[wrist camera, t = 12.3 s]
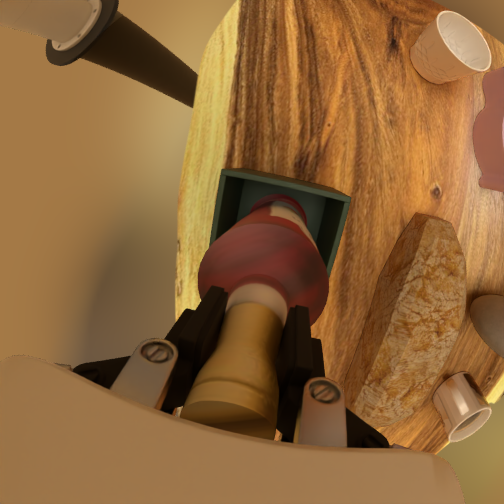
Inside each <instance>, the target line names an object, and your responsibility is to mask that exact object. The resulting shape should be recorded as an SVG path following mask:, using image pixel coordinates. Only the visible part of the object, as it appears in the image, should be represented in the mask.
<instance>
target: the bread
mask: <svg viewBox="0 0 504 504" xmlns="http://www.w3.org/2000/svg"><path fill="white" fill-rule="evenodd" d="M465 308H466V261H465V258H464V255H463V252H462V249H461V247H460V244H459V241H458V239H457V236H456V234H455V231H454V229H453V226H452V224H451V223H450V222H448V221H445V220H443V219H441V218H438V217H434V216H429V215H425V214H420V213H416V214H415V215H414V217H413V218H412V220H411V221H410V223H409V224H408V226H407V227H406V229H405V230H404V232H403V233H402V235H401V236H400V238H399V239H398V241H397V243H396V245H395V247H394V249H393V251H392V253H391V255H390V257H389V259H388V260H387V262H386V264H385V266H384V268H383V270H382V272H381V274H380V275H379V279H378V283H377V287H376V290H375V294H374V297H373V301H372V304H371V308H370V311H369V314H368V317H367V321H366V324H365V327H364V330H363V333H362V336H361V339H360V342H359V344H358V347H357V350H356V353H355V355H354V358H353V361H352V363H351V366H350V369H349V371H348V374H347V376H346V379H345V385H344V395H345V407H347V408H348V409H349V410H350V411H352V412H353V413H354V414H356V415H357V416H358V417H359V418H361V419H362V420H363V421H365V422H366V423H367V424H369V425H370V426H371V427H384V426H388V425H391V424H393V423H395V422H397V421H399V420H401V419H403V418H405V417H407V416H409V415H411V414H413V413H414V412H415V410H416V409H417V407H418V406H419V404H420V403H421V401H422V400H423V398H424V397H425V395H426V394H427V392H428V390H429V389H430V387H431V385H432V384H433V382H434V380H435V379H436V377H437V375H438V373H439V372H440V370H441V368H442V366H443V364H444V362H445V361H446V359H447V357H448V355H449V353H450V351H451V349H452V347H453V345H454V343H455V341H456V338H457V336H458V334H459V331H460V328H461V325H462V322H463V318H464V313H465Z"/></svg>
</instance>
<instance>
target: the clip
mask: <svg viewBox="0 0 504 504" xmlns="http://www.w3.org/2000/svg"><path fill="white" fill-rule="evenodd" d="M483 91H484V95H485V99H486V104H485V107H484V109H483V110H482V111H481V112H480V113H479V114H478V116H477V118H476V120H475V123H474V129H473V144H474V151H475V155H476V159H477V162H478V164H479V167H480V169H481V171H482V177H481V178H480V179H479V185H480V187H482V188H487V189H491V190H496V191H500V192H504V67H502V68H499V69H496V70H493V71H491V72H488V73H486V74H485V75H484V78H483Z"/></svg>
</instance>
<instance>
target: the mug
mask: <svg viewBox="0 0 504 504" xmlns="http://www.w3.org/2000/svg"><path fill="white" fill-rule="evenodd" d="M433 403H434V406H435V408H436V410H437V413H438V415H439V417H440V420H441V422H442V425H443V427H444V430H445V432H446V435H447V438H448V440H449V441H450V442H457V441H460V440H462V439H465V438H466V437H468V436H470V435H471V434H473V433H474V432H476V431H477V430H478V429H479V428H480V427H481V426H482V425H483V424H484V423H485V422H486V421H487V420H488V418H489V416H490V415H491V412H492V410H491V407H490V406H489V404H488V402H487V400H486V399H485V397H484V395H483V393H482V392H481V390H480V388H479V387H478V385H477V384H476V382H475V380H474V379H473V377H472V376H471V374H470V373H468V372H460V373H457V374H455V375H453V376H451V377H450V378H448V379H447V380H446V381H444V382H443V383H442V384H441V385H440V386H439V388H438V389H437V390H436V392H435V393H434V396H433Z"/></svg>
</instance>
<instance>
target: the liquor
mask: <svg viewBox="0 0 504 504" xmlns="http://www.w3.org/2000/svg"><path fill="white" fill-rule="evenodd" d="M212 285H214V286H218V287H222V288H224V292H228V299H227V305H226V311H225V315H224V318H223V322H222V326H221V329H220V333H219V337H218V341H217V345H216V349H215V351H214V352H213V353H212V355H211V356H210V357H209V359H208V360H207V361H206V363H205V364H204V366H203V367H202V368H201V370H200V371H199V373H198V374H197V377H196V379H195V381H194V383H193V386H192V388H191V390H190V392H189V395H188V397H187V399H186V401H185V404H184V406H183V408H182V410H181V413H180V418H182V419H186V420H189V421H192V422H195V423H199V424H202V425H206V426H209V427H213V428H217V429H221V430H225V431H229V432H233V433H237V434H242V435H247V436H252V437H257V438H262V439H268V440H274V438H275V433H276V423H277V413H278V403H279V386H278V380H277V374H276V369H275V361H276V358H277V354H278V350H279V346H280V342H281V338H282V333H283V329H284V326H285V322H286V319H287V316H288V312H289V309H290V307H294V308H295V305H300V306H305V307H308V308H309V317H310V326H312V325H313V324H314V323H315V322H316V320H317V319H318V318H319V316H320V315H321V313H322V311H323V309H324V307H325V305H326V302H327V297H328V293H329V279H328V274H327V270H326V266H325V264H324V262H323V260H322V258H321V256H320V254H319V251H318V249H317V247H316V244H315V242H314V240H313V238H312V236H311V234H310V232H309V231H308V229H307V218H306V214H305V212H304V210H303V208H302V206H301V205H300V204H299V203H298V202H297V201H296V200H295V199H293V198H291V197H289V196H287V195H283V194H271V195H267V196H265V197H263V198H261V199H260V200H258V201H257V202H256V203H255V204H254V206H253V207H252V209H251V210H250V213H249V215H247V216H246V217H244V218H243V219H241V220H240V221H239V222H238V223H236V224H235V225H234V226H233V227H232V228H230V229H229V230H228V231H227V232H226V233H224V234H223V235H222V236H221V237H219V238H218V239H217V240H216V241H215V242H213V244H212V245H211V246H210V247H209V249H208V250H207V251H206V253H205V255H204V257H203V259H202V261H201V263H200V268H199V272H198V289H199V294H200V298H201V301H202V299H203V298H204V296H205V295H206V293H207V291H208V290H209V288H210V287H211V286H212Z"/></svg>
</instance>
